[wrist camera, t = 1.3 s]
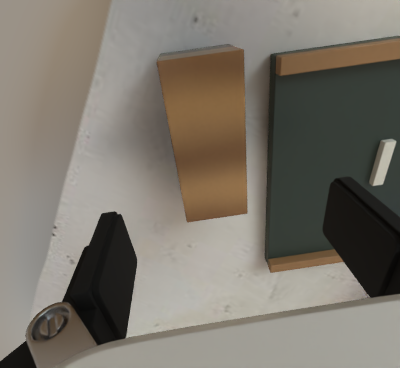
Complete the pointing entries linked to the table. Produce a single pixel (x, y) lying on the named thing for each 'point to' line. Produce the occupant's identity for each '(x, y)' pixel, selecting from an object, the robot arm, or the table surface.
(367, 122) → the slate board
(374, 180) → the chalk stroke
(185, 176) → the eraser
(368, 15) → the table surface
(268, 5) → the table surface
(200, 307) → the table surface
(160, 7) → the table surface
